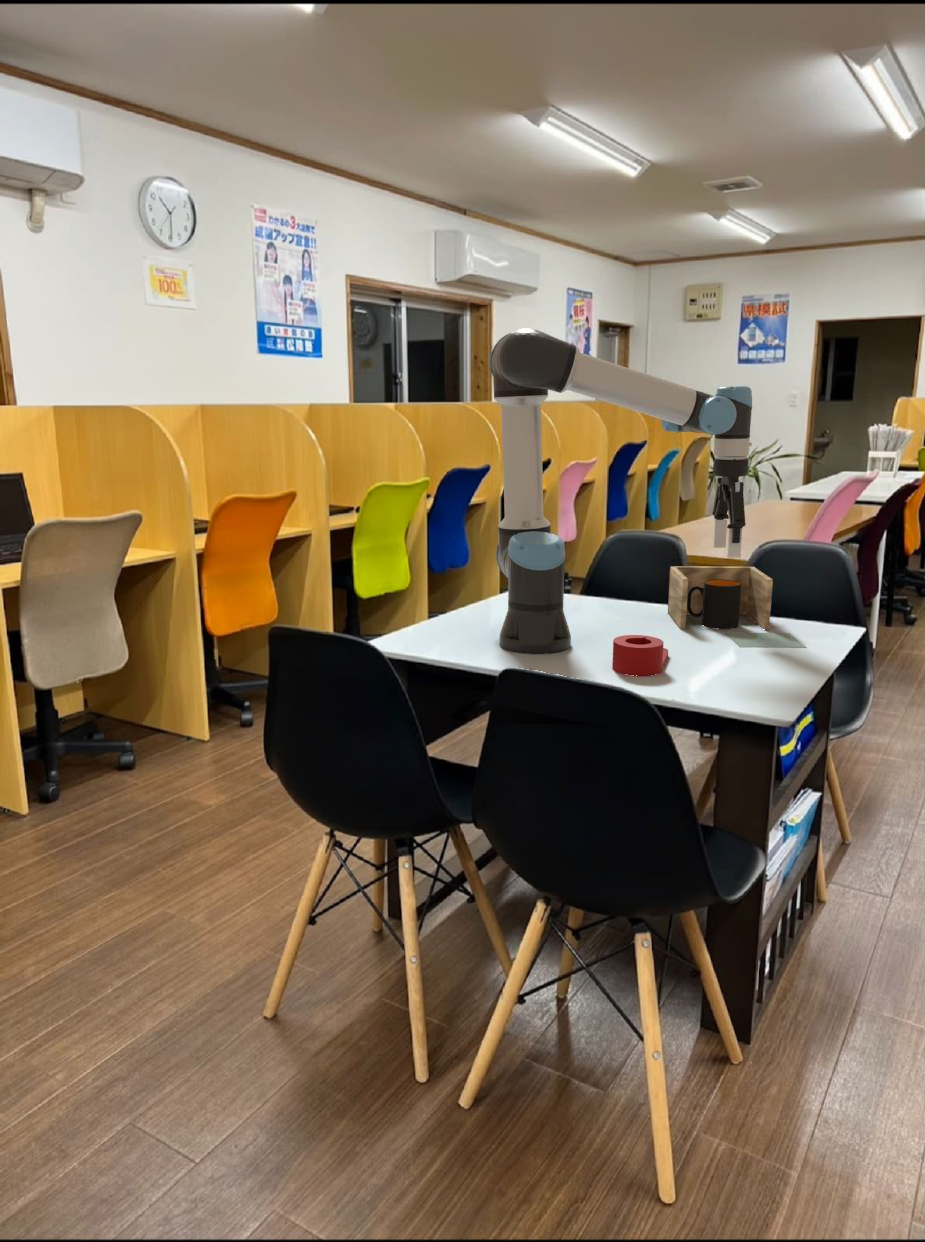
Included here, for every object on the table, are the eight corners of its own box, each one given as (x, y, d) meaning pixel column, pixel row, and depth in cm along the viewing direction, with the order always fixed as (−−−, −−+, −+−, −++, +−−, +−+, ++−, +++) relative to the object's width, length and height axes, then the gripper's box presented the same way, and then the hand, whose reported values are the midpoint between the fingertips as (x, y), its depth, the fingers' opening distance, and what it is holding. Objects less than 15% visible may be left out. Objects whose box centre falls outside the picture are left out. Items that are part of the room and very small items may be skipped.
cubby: (679, 630, 203) (682, 579, 200) (667, 614, 219) (670, 566, 216) (768, 631, 202) (773, 579, 199) (750, 614, 218) (753, 566, 215)
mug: (690, 618, 214) (693, 576, 212) (741, 624, 209) (744, 581, 206) (681, 626, 207) (683, 582, 205) (733, 632, 202) (737, 587, 199)
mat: (739, 649, 188) (739, 646, 188) (725, 635, 199) (725, 632, 199) (806, 650, 187) (807, 647, 187) (789, 635, 199) (789, 632, 199)
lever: (650, 685, 165) (652, 650, 164) (604, 676, 170) (605, 643, 169) (684, 661, 180) (686, 629, 178) (640, 654, 185) (641, 623, 183)
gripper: (764, 461, 185) (758, 561, 191) (734, 454, 210) (729, 543, 215) (727, 462, 186) (722, 562, 191) (702, 454, 210) (698, 543, 215)
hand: (726, 552), depth 203 cm, fingers open, 13 cm apart
